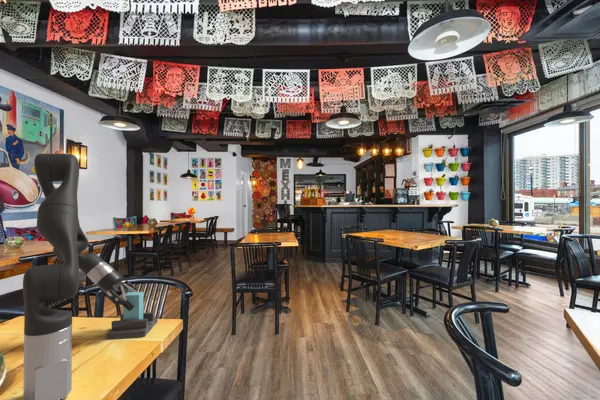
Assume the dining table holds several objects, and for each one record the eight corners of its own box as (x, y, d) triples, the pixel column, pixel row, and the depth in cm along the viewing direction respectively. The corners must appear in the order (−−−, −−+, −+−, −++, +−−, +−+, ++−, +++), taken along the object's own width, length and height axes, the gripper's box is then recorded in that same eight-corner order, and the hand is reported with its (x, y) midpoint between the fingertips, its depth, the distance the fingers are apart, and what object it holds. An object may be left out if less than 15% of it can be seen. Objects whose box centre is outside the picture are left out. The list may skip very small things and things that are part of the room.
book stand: (145, 336, 105) (145, 322, 105) (106, 338, 103) (106, 325, 103) (157, 321, 118) (157, 309, 118) (123, 323, 116) (123, 311, 116)
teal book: (138, 326, 109) (139, 294, 109) (122, 327, 108) (122, 295, 108) (143, 322, 112) (143, 291, 113) (127, 323, 112) (127, 292, 112)
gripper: (102, 273, 102) (136, 304, 104) (121, 265, 116) (151, 292, 118) (86, 289, 101) (120, 319, 103) (107, 278, 116) (137, 305, 117)
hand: (137, 305), depth 111 cm, fingers open, 8 cm apart
